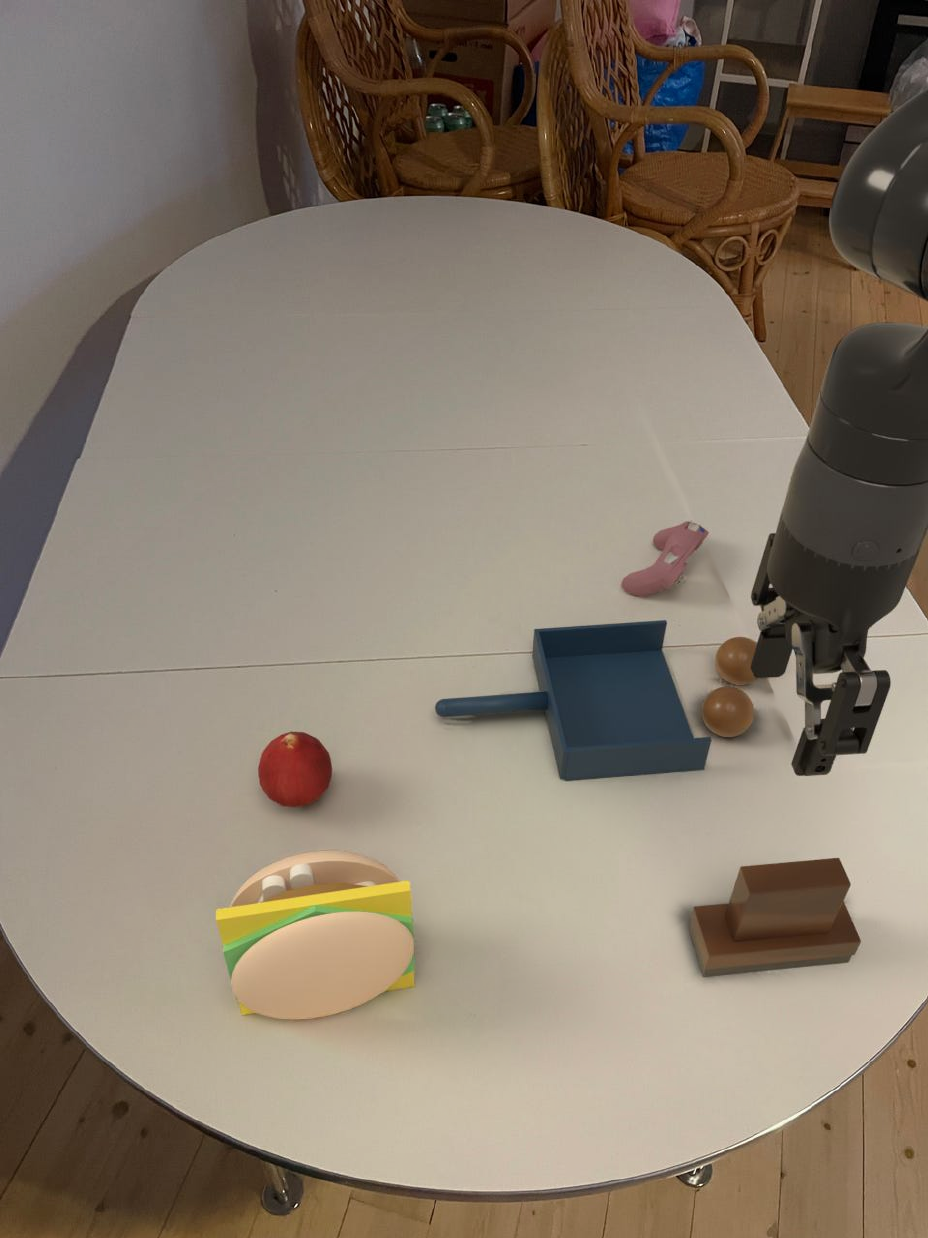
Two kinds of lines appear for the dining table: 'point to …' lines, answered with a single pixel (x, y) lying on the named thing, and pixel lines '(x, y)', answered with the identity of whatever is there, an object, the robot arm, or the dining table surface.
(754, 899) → the brush
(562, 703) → the dustpan
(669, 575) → the pink socks
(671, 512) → the dining table surface
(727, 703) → the cork ball
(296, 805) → the onion
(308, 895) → the hamburger
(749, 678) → the brown ball
